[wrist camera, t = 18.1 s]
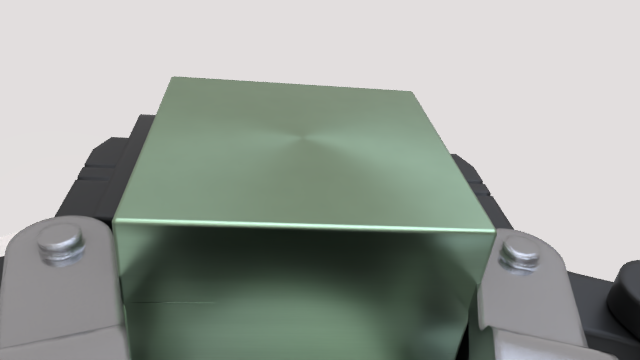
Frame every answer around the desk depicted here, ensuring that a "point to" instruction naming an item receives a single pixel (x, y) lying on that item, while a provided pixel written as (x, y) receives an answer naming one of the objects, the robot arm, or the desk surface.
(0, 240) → the desk surface
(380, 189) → the pen tin
